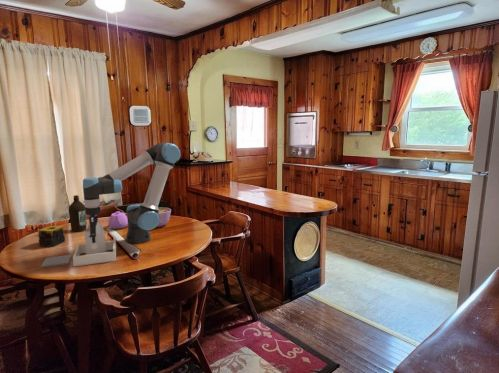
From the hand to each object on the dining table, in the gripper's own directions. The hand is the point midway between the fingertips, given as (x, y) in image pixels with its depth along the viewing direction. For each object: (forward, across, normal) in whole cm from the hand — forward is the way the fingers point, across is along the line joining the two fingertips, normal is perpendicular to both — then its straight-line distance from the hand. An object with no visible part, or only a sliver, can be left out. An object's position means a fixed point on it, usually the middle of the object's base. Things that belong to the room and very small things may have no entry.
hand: (95, 244), depth 175 cm
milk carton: (+7, 0, 0) cm, 7 cm away
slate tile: (+7, 0, -19) cm, 20 cm away
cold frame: (+7, 0, 0) cm, 7 cm away
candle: (+8, -34, -27) cm, 44 cm away
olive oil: (+7, -59, -15) cm, 61 cm away
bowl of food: (+7, -51, +38) cm, 64 cm away
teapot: (+8, -56, +11) cm, 58 cm away
